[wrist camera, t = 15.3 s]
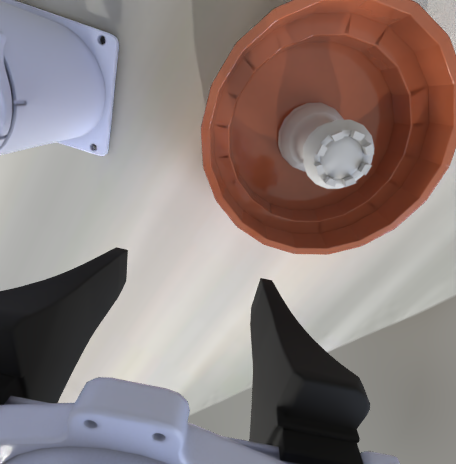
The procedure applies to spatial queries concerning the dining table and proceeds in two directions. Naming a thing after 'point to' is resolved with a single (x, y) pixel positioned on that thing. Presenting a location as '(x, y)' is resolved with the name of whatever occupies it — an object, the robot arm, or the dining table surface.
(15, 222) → the dining table surface
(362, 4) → the bowl
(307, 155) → the rook chess piece
